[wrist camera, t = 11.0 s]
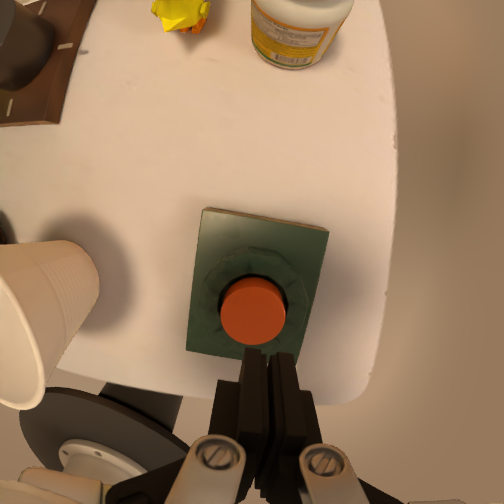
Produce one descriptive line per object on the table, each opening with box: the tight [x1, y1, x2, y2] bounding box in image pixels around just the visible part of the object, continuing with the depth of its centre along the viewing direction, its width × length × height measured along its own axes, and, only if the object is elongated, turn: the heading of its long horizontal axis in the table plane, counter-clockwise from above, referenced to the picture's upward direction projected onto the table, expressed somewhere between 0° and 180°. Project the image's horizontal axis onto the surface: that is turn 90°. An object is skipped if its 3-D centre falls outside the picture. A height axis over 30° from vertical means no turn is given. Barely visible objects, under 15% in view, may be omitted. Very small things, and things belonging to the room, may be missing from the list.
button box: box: [186, 207, 329, 366], centre depth 20 cm, size 10×8×4 cm
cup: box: [0, 240, 99, 410], centre depth 16 cm, size 10×10×11 cm
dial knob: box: [0, 0, 55, 91], centre depth 12 cm, size 7×7×6 cm
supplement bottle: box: [251, 0, 354, 69], centre depth 13 cm, size 5×5×10 cm
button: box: [220, 277, 285, 345], centre depth 18 cm, size 4×4×2 cm
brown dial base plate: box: [0, 0, 96, 127], centre depth 16 cm, size 12×11×2 cm
